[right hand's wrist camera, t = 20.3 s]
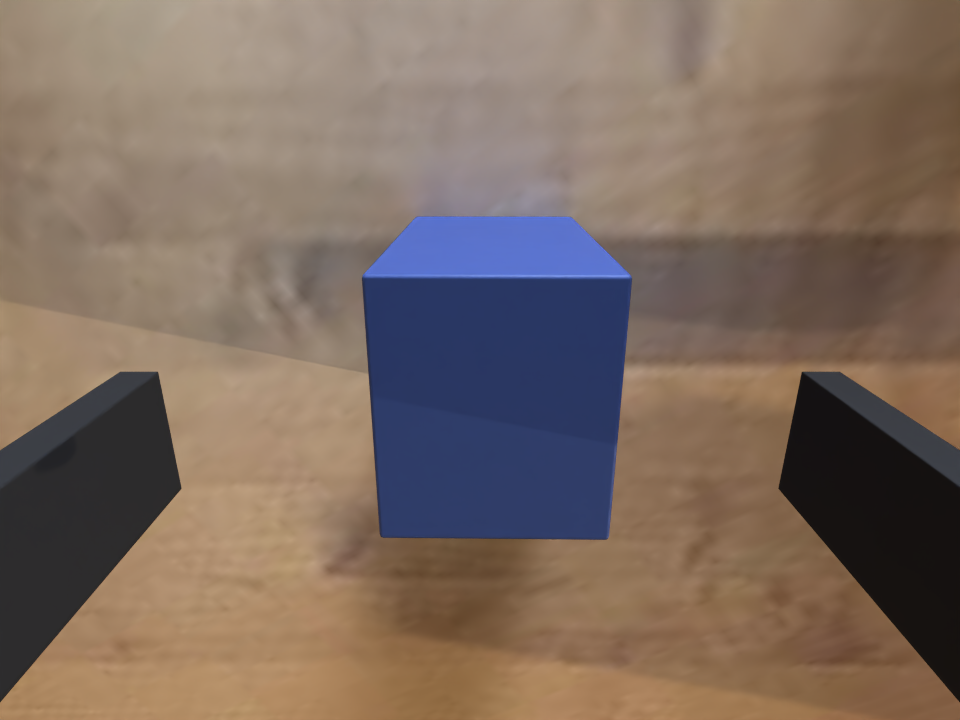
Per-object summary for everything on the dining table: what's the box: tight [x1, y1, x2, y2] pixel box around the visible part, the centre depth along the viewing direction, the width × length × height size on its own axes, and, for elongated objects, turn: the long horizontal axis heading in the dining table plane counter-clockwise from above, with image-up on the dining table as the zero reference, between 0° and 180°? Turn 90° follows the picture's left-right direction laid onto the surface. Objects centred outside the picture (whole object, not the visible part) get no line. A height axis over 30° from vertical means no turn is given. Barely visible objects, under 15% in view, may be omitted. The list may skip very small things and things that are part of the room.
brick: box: [362, 217, 632, 540], centre depth 17 cm, size 5×6×9 cm
